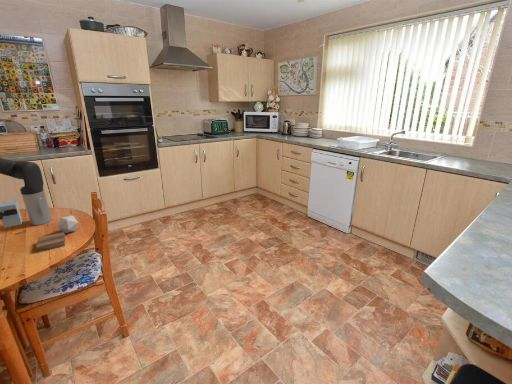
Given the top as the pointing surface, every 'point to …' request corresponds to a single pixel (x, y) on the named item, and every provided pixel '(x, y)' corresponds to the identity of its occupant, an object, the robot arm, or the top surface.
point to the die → (68, 224)
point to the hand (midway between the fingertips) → (17, 208)
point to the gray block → (11, 219)
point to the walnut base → (50, 242)
